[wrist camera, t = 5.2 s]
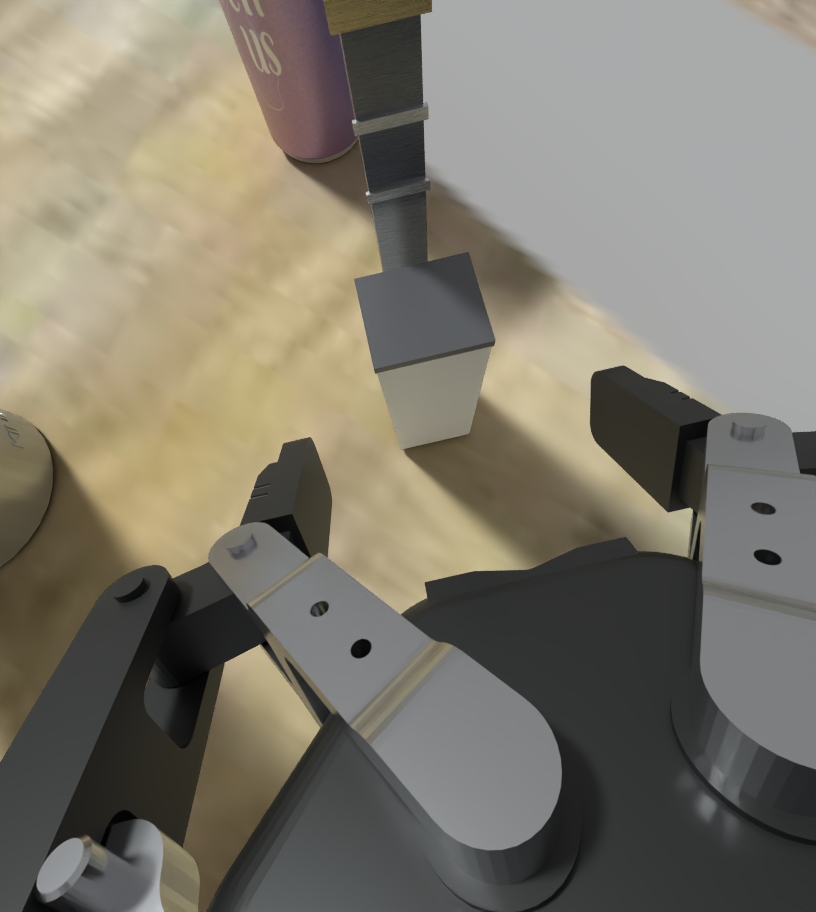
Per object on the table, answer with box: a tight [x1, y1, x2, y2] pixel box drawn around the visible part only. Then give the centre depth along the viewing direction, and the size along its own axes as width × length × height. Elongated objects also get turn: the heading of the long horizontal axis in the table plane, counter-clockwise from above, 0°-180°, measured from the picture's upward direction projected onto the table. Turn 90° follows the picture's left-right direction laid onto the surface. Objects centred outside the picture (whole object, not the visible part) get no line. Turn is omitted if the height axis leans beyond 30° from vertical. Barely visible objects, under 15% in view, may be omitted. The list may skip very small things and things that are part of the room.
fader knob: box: [354, 252, 495, 450], centre depth 17 cm, size 3×4×9 cm
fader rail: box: [323, 0, 432, 272], centre depth 15 cm, size 2×3×17 cm, turn 103°
